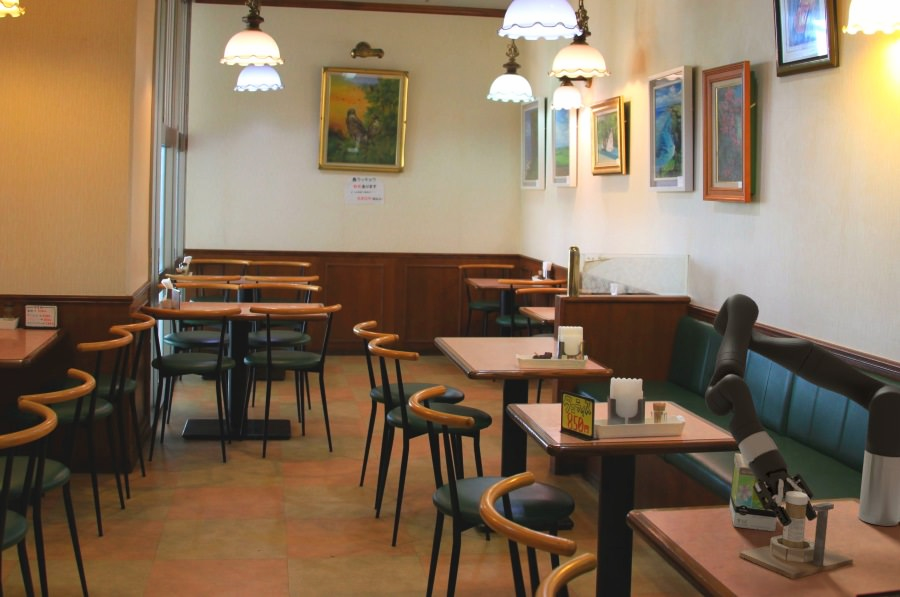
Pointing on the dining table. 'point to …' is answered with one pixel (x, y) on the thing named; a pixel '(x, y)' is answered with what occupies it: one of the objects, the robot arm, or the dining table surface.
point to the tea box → (748, 500)
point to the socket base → (792, 565)
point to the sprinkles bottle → (795, 519)
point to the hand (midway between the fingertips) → (800, 521)
